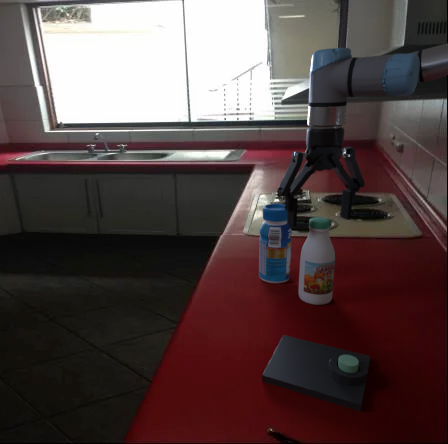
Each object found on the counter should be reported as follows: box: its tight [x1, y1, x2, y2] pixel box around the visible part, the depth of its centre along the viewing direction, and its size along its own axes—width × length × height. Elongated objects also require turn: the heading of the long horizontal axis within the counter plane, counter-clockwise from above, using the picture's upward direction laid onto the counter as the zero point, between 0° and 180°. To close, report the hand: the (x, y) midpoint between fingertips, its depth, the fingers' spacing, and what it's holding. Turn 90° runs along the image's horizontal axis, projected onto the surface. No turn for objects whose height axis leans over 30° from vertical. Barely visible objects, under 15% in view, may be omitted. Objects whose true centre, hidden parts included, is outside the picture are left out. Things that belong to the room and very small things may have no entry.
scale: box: [261, 334, 372, 412], centre depth 75 cm, size 16×14×3 cm
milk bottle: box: [297, 216, 336, 306], centre depth 98 cm, size 8×8×20 cm
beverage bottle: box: [258, 203, 293, 284], centre depth 110 cm, size 8×8×20 cm
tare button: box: [338, 355, 359, 373], centre depth 72 cm, size 3×3×2 cm
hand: (318, 221), depth 96 cm, fingers open, 13 cm apart
